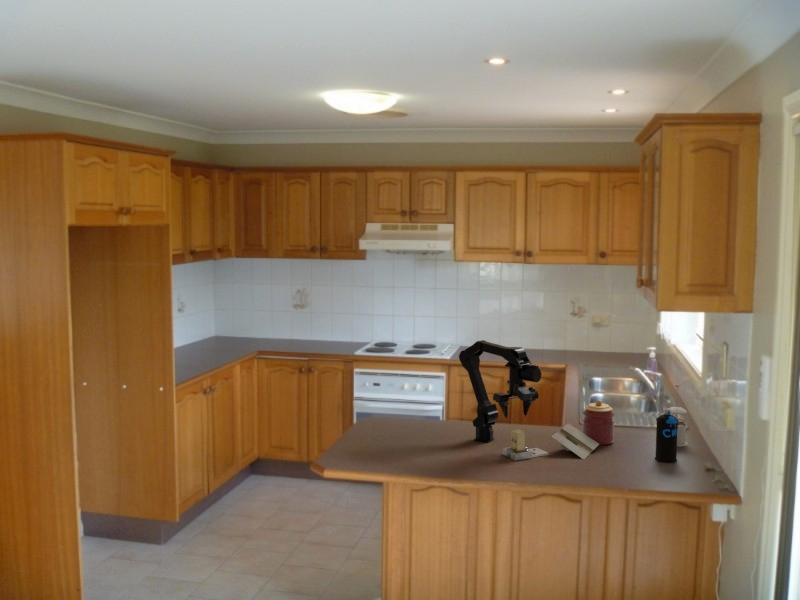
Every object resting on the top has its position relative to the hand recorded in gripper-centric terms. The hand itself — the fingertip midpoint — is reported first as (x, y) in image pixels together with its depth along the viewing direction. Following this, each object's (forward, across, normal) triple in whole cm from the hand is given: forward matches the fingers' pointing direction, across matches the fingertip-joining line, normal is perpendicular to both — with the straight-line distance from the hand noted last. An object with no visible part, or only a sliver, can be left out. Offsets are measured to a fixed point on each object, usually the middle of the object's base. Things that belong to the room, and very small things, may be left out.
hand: (515, 416), depth 319 cm
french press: (+13, +64, -22) cm, 69 cm away
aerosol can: (+13, +44, -38) cm, 60 cm away
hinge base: (+13, -2, -10) cm, 16 cm away
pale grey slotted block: (+14, +19, -15) cm, 28 cm away
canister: (+13, +37, -6) cm, 40 cm away
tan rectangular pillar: (+13, -5, -10) cm, 17 cm away
